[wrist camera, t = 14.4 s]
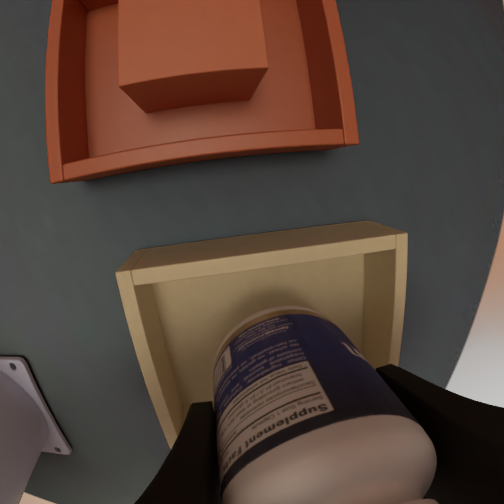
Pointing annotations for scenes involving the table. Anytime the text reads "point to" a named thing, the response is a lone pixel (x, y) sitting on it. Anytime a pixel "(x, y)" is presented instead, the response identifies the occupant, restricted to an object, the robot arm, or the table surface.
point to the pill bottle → (311, 418)
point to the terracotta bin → (200, 116)
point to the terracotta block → (190, 51)
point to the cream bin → (257, 299)
